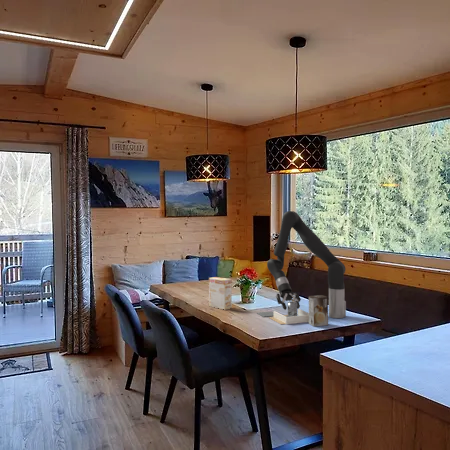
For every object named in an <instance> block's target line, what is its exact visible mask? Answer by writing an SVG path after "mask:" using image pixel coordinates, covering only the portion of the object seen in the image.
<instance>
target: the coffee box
mask: <svg viewBox="0 0 450 450" xmlns="http://www.w3.org/2000/svg"><path fill="white" fill-rule="evenodd" d="M308 313H309V322H308V325H310V326H312V327H323V326H329V296H326V295H322V294H319V295H308Z"/></svg>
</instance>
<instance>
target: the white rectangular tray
mask: <svg viewBox="0 0 450 450" xmlns="http://www.w3.org/2000/svg"><path fill="white" fill-rule="evenodd" d="M273 313H274V316H272V317H268V319H270V320H272V321H274V322H276V323H278V324H280V325H293V324H300V323H302V324H303V323H309V311H308V312H307V311H305V310H303V309H301V308H299V309H297V316H291V317H288V314H281V313H279V312H277V311H275V310H273Z"/></svg>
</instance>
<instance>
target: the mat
mask: <svg viewBox="0 0 450 450" xmlns="http://www.w3.org/2000/svg"><path fill="white" fill-rule="evenodd" d="M256 314H257V315H259V316H260V317H262V318H269V317H273V316H274V311H262V312H256Z"/></svg>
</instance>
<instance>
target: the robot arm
mask: <svg viewBox="0 0 450 450" xmlns="http://www.w3.org/2000/svg"><path fill="white" fill-rule="evenodd" d="M280 224H281V225H280V231H279V234H278V238H277V241H276V244H275V247H274V250H273V255H274V256H276V258H277V259H275V258H269V260H268V261H267V263H266V267H267V270H268V271H269V272H270V274H271V275H272V276H273V278H274V281H275V285H276V287H277V290H278V292H279V293H276V295H275V297H276V302H277V304H278V305H281V306H282V309H284V310H285V311H286V310H288V306H287V305H286V302H297V310H298V309H300V307H301V305H300V302H301V300H302V299H301V297H300V295H299V293H298V292H296V291H295V292H293V290H292V288H291V285H290V283H289V282H290V281H289V280H288V278H287V276H286V274H285V272H284V270H283V268H284V265H285V255H286V252H287V248H288V245H289V237H290V234H291V233H290V232H291V231H292V229H293V230H294V231H295V232H296V233H297V234H298V236H299V237H300V239H301V241H302V243H303V244H304V246H306V248H307V249H308V251H310V252H311V253H312V254H313V255H315V256H316V257H317V258H318V259H320V260H321V261H322V262H323V263H324V264H325V265H326V266H327V284H328V318H333V319H344V318H346V317H347V301H346V300H345V287H346V286H345V283H344V280H345V279H344V277H345V276H344V274H345V273H346V266H345V264H344V263H343V261H341V260H340V259H338V258H337V257H336V256H335V255H334V254H333V253H332V252H331V250H330V249H329V248H328V246H327V245H325V243H324V242H323V240H321V239H320V237H318V235H316V233H314V231H312V230H311V229H310V228H309V226H308V225H307V224H306V223H305V222H304V220H303V219H302V218H301V217H300V215H299V213H297V212H296V211H293V210H288V211H287V210H286V211H285V212H284V213H283V215H282V219H281V223H280ZM281 298H282V299H281Z"/></svg>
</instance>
